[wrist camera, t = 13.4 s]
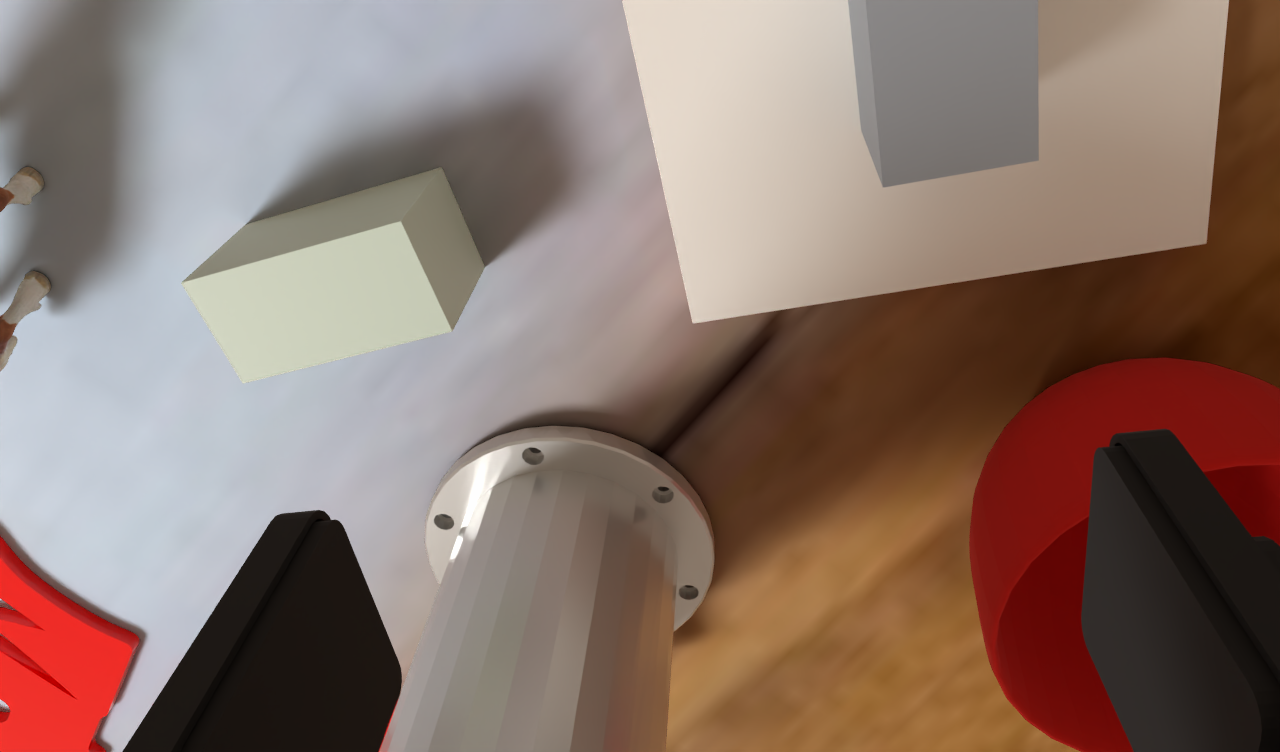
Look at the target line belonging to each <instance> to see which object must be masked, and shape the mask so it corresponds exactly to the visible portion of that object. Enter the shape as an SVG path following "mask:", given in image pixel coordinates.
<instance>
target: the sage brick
mask: <svg viewBox="0 0 1280 752" xmlns="http://www.w3.org/2000/svg"><path fill="white" fill-rule="evenodd" d="M484 268H485V266H484V264H483V262H482V259H481V257H480V255H479V252H478V250H477V248H476V245H475V243H474V241H473V238H472V236H471V234H470V232H469V229H468V227H467V225H466V222H465V220H464V218H463V215H462V213H461V211H460V208H459V206H458V204H457V201H456V199H455V197H454V195H453V192H452V190H451V188H450V185H449V183H448V181H447V178H446V176H445V174H444V171H443V169H442V167H440V168H437V169H433V170H430V171H426V172H423V173H420V174H416V175H413V176H409V177H406V178H403V179H399V180H396V181H392V182H389V183H385V184H382V185H379V186H375V187H372V188H368V189H365V190H361V191H358V192H355V193H351V194H348V195H344V196H341V197H338V198H334V199H331V200H327V201H324V202H320V203H317V204H314V205H310V206H307V207H303V208H300V209H297V210H293V211H290V212H286V213H283V214H279V215H276V216H273V217H269V218H266V219H262V220H259V221H255V222H252V223H249V224H246V225H245V226H243V227H242V228H241V229H240V230H239V231H238V232H237V233H236V234H235V235H234V236H232V237H231V238H230V239H229V240H228V241H227V242H226V243H225V244H224V245H222V246H221V247H220V248H219V249H218V250H217V251H216V252H215V253H214V254H213V255H211V256H210V257H209V258H208V259H207V260H206V261H205V262H204V263H203V264H201V265H200V266H199V267H198V268H197V269H196V270H195V271H194V272H193V273H192V274H190V275H189V276H188V277H187V278H186V279H185V280H184V281H183V282H182V283H181V284H182V285H183V287H184V289H185V290H186V292H187V293H188V295H189V297H190V298H191V300H192V302H193V303H194V305H195V306H196V308H197V310H198V311H199V313H200V315H201V316H202V318H203V319H204V321H205V323H206V324H207V326H208V328H209V329H210V331H211V332H212V334H213V336H214V337H215V339H216V341H217V342H218V344H219V345H220V347H221V349H222V350H223V352H224V354H225V355H226V357H227V358H228V360H229V362H230V363H231V365H232V367H233V368H234V370H235V371H236V373H237V375H238V376H239V378H240V380H241V381H242V383H247V382H251V381H255V380H259V379H263V378H267V377H271V376H275V375H279V374H283V373H287V372H291V371H295V370H299V369H303V368H307V367H311V366H315V365H319V364H323V363H327V362H331V361H335V360H339V359H343V358H347V357H351V356H355V355H359V354H363V353H367V352H371V351H375V350H379V349H383V348H387V347H392V346H396V345H400V344H404V343H408V342H412V341H416V340H420V339H424V338H428V337H432V336H436V335H440V334H444V333H448V332H452V331H453V329H454V327H455V325H456V323H457V321H458V319H459V317H460V315H461V313H462V311H463V309H464V307H465V305H466V303H467V302H468V300H469V298H470V296H471V294H472V292H473V290H474V288H475V286H476V284H477V282H478V280H479V278H480V276H481V274H482V272H483V270H484Z"/></svg>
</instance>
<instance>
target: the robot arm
mask: <svg viewBox="0 0 1280 752" xmlns="http://www.w3.org/2000/svg"><path fill="white" fill-rule="evenodd" d="M424 543H425V548H426V553H427V558H428V562H429V564H430V567H431V569H432V571H433V573H434V575H435V578H436V580H437V582H438V583H439V585H440V587H439V589H438V592H437V595H436V598H435V600H434V603H433V606H432V609H431V611H430V614H429V617H428V620H427V622H426V625H425V628H424V631H423V633H422V636H421V639H420V642H419V644H418V647H417V650H416V653H415V655H414V658H413V661H412V663H411V666H410V669H409V672H408V674H407V677H406V680H405V683H404V685H403V688H402V691H401V694H400V690H401V683H402V674H401V668H400V664H399V661H398V659H397V656H396V654H395V652H394V649H393V647H392V644H391V642H390V639H389V637H388V634H387V632H386V629H385V627H384V625H383V622H382V620H381V617H380V615H379V612H378V610H377V607H376V605H375V603H374V600H373V598H372V595H371V593H370V590H369V588H368V585H367V583H366V580H365V578H364V576H363V573H362V571H361V568H360V566H359V563H358V561H357V558H356V556H355V554H354V551H353V549H352V546H351V544H350V541H349V539H348V536H347V534H346V531H345V529H344V527H343V525H342V524H341V523H340V522H339V521H338V520H331V519H330V517H329V516H328V515H327V514H326V513H325V512H324V511H320V510H316V511H305V512H295V513H284V514H280V515H277V516H275V518H274V519H273V520H272V521H271V522H270V524H269V525H268V527H267V529H266V530H265V532H264V533H263V535H262V536H261V538H260V539H259V541H258V543H257V544H256V546H255V547H254V549H253V550H252V552H251V553H250V555H249V556H248V558H247V560H246V561H245V563H244V564H243V566H242V567H241V569H240V570H239V572H238V574H237V575H236V577H235V578H234V580H233V581H232V583H231V584H230V586H229V587H228V589H227V591H226V592H225V594H224V595H223V597H222V598H221V600H220V601H219V603H218V605H217V606H216V608H215V609H214V611H213V612H212V614H211V615H210V617H209V618H208V620H207V622H206V623H205V625H204V626H203V628H202V629H201V631H200V632H199V634H198V636H197V637H196V639H195V640H194V642H193V643H192V645H191V646H190V648H189V649H188V651H187V653H186V654H185V656H184V657H183V659H182V660H181V662H180V663H179V665H178V667H177V668H176V670H175V671H174V673H173V674H172V676H171V677H170V679H169V680H168V682H167V684H166V685H165V687H164V688H163V690H162V691H161V693H160V694H159V696H158V698H157V699H156V701H155V702H154V704H153V705H152V707H151V708H150V710H149V711H148V713H147V715H146V716H145V718H144V719H143V721H142V722H141V724H140V725H139V727H138V729H137V730H136V732H135V733H134V735H133V736H132V738H131V739H130V741H129V742H128V744H127V746H126V747H125V749H124V750H123V752H378V751H379V749H380V751H379V752H666V737H667V722H668V707H669V692H670V677H671V662H672V647H673V632H675V631H676V630H677V629H678V628H679V627H680V626H682V625H683V624H684V623H685V622H686V621H687V620H688V619H690V618H691V617H692V615H693V614H694V613H695V611H696V610H697V609H698V607H699V606H700V605H701V603H702V602H703V600H704V598H705V596H706V593H707V591H708V589H709V586H710V584H711V582H712V575H713V568H714V535H713V530H712V526H711V522H710V518H709V515H708V513H707V511H706V509H705V507H704V505H703V503H702V501H701V499H700V497H699V495H698V494H697V493H696V492H695V490H694V489H693V488H692V487H691V485H690V484H689V483H688V482H687V480H686V479H685V478H684V477H683V476H682V475H681V474H680V473H679V472H678V471H677V470H675V469H674V468H673V467H672V466H671V465H670V464H668V463H667V462H666V461H665V460H664V459H662V458H661V457H659V456H657V455H656V454H654V453H652V452H651V451H649V450H647V449H645V448H644V447H642V446H640V445H639V444H636V443H634V442H631V441H628V440H626V439H623V438H621V437H618V436H616V435H613V434H610V433H605V432H601V431H596V430H592V429H587V428H583V427H567V426H544V427H534V428H524V429H520V430H517V431H513V432H509V433H506V434H502V435H498V436H496V437H494V438H492V439H490V440H488V441H486V442H484V443H482V444H480V445H478V446H476V447H474V448H473V449H472V450H470V451H469V452H468V453H466V454H465V455H464V456H462V457H461V458H460V459H459V460H457V461H456V462H455V463H454V465H453V466H452V467H451V468H450V469H449V471H448V472H447V473H446V474H445V476H444V477H443V478H442V479H441V482H440V484H439V486H438V488H437V490H436V492H435V494H434V496H433V498H432V501H431V503H430V506H429V509H428V512H427V515H426V519H425V534H424ZM1081 623H1082V631H1083V636H1084V640H1085V644H1086V646H1087V649H1088V651H1089V654H1090V656H1091V658H1092V660H1093V663H1094V665H1095V667H1096V669H1097V671H1098V674H1099V676H1100V678H1101V680H1102V682H1103V685H1104V687H1105V689H1106V691H1107V694H1108V696H1109V698H1110V700H1111V702H1112V705H1113V707H1114V709H1115V711H1116V713H1117V716H1118V718H1119V720H1120V722H1121V725H1122V727H1123V729H1124V731H1125V733H1126V736H1127V738H1128V740H1129V742H1130V744H1131V747H1132V749H1133V751H1134V752H1280V546H1279V545H1278V544H1277V543H1276V542H1275V541H1274V540H1272V539H1270V538H1267V537H1265V536H1258V537H1252V536H1251V535H1250V533H1249V532H1248V531H1247V529H1246V528H1245V527H1244V525H1243V524H1242V523H1241V522H1240V520H1239V519H1238V518H1237V516H1236V515H1235V514H1234V512H1233V511H1232V510H1231V508H1230V507H1229V506H1228V504H1227V503H1226V502H1225V500H1224V499H1223V498H1222V496H1221V495H1220V494H1219V492H1218V491H1217V490H1216V488H1215V487H1214V486H1213V484H1212V483H1211V482H1210V481H1209V479H1208V478H1207V477H1206V475H1205V474H1204V473H1203V471H1202V470H1201V469H1200V467H1199V466H1198V465H1197V463H1196V462H1195V461H1194V459H1193V458H1192V457H1191V455H1190V454H1189V453H1188V451H1187V450H1186V449H1185V447H1184V446H1183V445H1182V444H1181V442H1180V441H1179V440H1178V438H1177V437H1176V436H1175V434H1174V433H1173V432H1172V431H1170V430H1168V429H1156V430H1146V431H1135V432H1125V433H1116V434H1114V435H1113V436H1112V438H1111V440H1110V445H1109V447H1099V448H1097V449H1096V451H1095V454H1094V460H1093V473H1092V486H1091V498H1090V511H1089V524H1088V536H1087V549H1086V562H1085V574H1084V587H1083V600H1082V612H1081ZM399 694H400V696H399ZM398 697H399V699H398ZM397 700H398V702H397ZM396 703H397V705H396ZM395 705H396V707H395ZM394 708H395V710H394ZM393 711H394V713H393ZM392 713H393V716H392ZM391 716H392V718H391ZM390 719H391V721H390ZM389 722H390V724H389ZM388 724H389V727H388ZM387 727H388V729H387ZM386 730H387V732H386ZM385 732H386V735H385ZM384 735H385V737H384ZM383 738H384V740H383ZM382 741H383V743H382ZM381 743H382V746H381ZM380 746H381V748H380Z"/></svg>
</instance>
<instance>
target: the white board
mask: <svg viewBox="0 0 1280 752" xmlns="http://www.w3.org/2000/svg"><path fill="white" fill-rule="evenodd" d="M622 2H623V6H624V11H625V16H626V20H627V25H628V29H629V34H630V38H631V43H632V48H633V52H634V57H635V61H636V66H637V71H638V75H639V80H640V84H641V89H642V93H643V98H644V103H645V107H646V112H647V116H648V121H649V126H650V130H651V135H652V139H653V144H654V148H655V153H656V158H657V162H658V167H659V171H660V176H661V181H662V185H663V190H664V194H665V199H666V203H667V208H668V213H669V217H670V222H671V226H672V231H673V236H674V240H675V245H676V249H677V254H678V258H679V263H680V268H681V272H682V277H683V281H684V286H685V291H686V295H687V300H688V304H689V309H690V313H691V318H692V323H700V322H706V321H713V320H719V319H726V318H732V317H738V316H745V315H751V314H758V313H764V312H771V311H777V310H783V309H790V308H796V307H803V306H809V305H815V304H822V303H828V302H835V301H841V300H848V299H854V298H860V297H867V296H873V295H880V294H886V293H893V292H899V291H905V290H912V289H918V288H925V287H931V286H938V285H944V284H950V283H957V282H963V281H970V280H976V279H983V278H989V277H995V276H1002V275H1008V274H1015V273H1021V272H1028V271H1034V270H1040V269H1047V268H1053V267H1060V266H1066V265H1072V264H1079V263H1085V262H1092V261H1098V260H1105V259H1111V258H1117V257H1124V256H1130V255H1137V254H1143V253H1150V252H1156V251H1162V250H1169V249H1175V248H1182V247H1188V246H1195V245H1201V244H1206V243H1207V232H1208V221H1209V211H1210V200H1211V189H1212V178H1213V168H1214V157H1215V146H1216V135H1217V124H1218V114H1219V103H1220V92H1221V81H1222V71H1223V60H1224V49H1225V38H1226V28H1227V17H1228V6H1229V0H1038V107H1039V161H1033V162H1027V163H1022V164H1016V165H1010V166H1004V167H999V168H993V169H987V170H981V171H976V172H970V173H964V174H958V175H953V176H947V177H941V178H936V179H930V180H924V181H918V182H913V183H907V184H901V185H895V186H890V187H884V188H883V187H882V184H881V181H880V179H879V176H878V173H877V171H876V168H875V166H874V163H873V160H872V158H871V155H870V152H869V150H868V147H867V145H866V142H865V139H864V137H863V134H862V131H861V124H860V114H859V104H858V94H857V85H856V75H855V65H854V55H853V45H852V35H851V25H850V15H849V5H848V0H622Z"/></svg>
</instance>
